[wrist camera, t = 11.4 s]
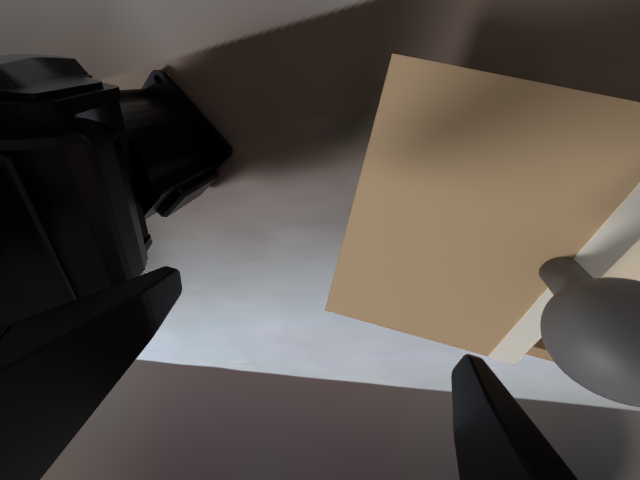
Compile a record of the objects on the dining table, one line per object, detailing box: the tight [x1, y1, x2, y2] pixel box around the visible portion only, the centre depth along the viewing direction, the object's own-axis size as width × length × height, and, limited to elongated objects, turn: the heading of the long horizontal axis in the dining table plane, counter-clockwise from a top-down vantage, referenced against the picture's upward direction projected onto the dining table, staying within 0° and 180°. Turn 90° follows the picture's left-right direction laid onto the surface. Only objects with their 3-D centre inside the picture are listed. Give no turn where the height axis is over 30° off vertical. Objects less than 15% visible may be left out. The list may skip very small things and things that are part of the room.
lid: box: [325, 53, 640, 407], centre depth 11 cm, size 13×14×7 cm
